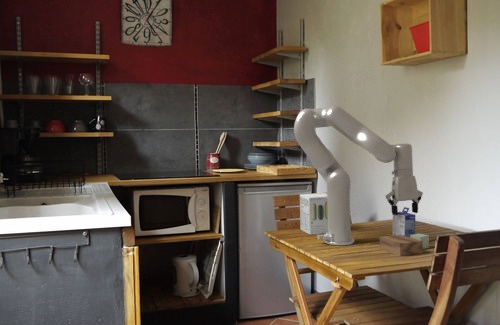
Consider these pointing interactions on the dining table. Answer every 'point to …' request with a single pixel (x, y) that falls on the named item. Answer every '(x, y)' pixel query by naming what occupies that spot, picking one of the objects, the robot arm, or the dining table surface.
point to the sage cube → (422, 239)
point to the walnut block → (401, 245)
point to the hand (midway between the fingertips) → (405, 213)
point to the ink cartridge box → (403, 223)
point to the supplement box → (314, 213)
